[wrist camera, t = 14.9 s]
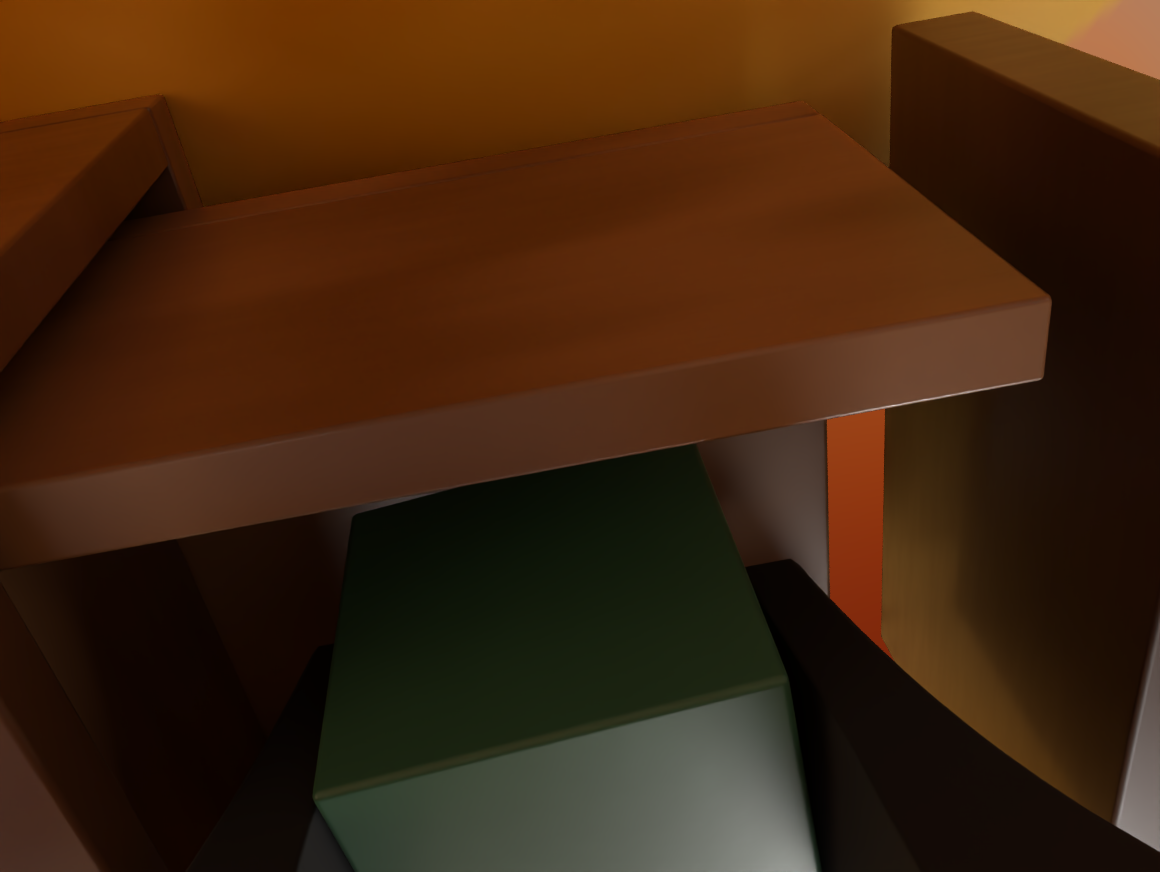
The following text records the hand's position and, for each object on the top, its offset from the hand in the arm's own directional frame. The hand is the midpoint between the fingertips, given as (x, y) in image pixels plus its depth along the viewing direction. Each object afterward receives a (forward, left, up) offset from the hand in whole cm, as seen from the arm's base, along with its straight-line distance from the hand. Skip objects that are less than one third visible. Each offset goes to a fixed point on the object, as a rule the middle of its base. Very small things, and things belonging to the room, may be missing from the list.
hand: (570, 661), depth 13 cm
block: (0, 0, -1) cm, 1 cm away
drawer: (0, -2, -5) cm, 6 cm away
